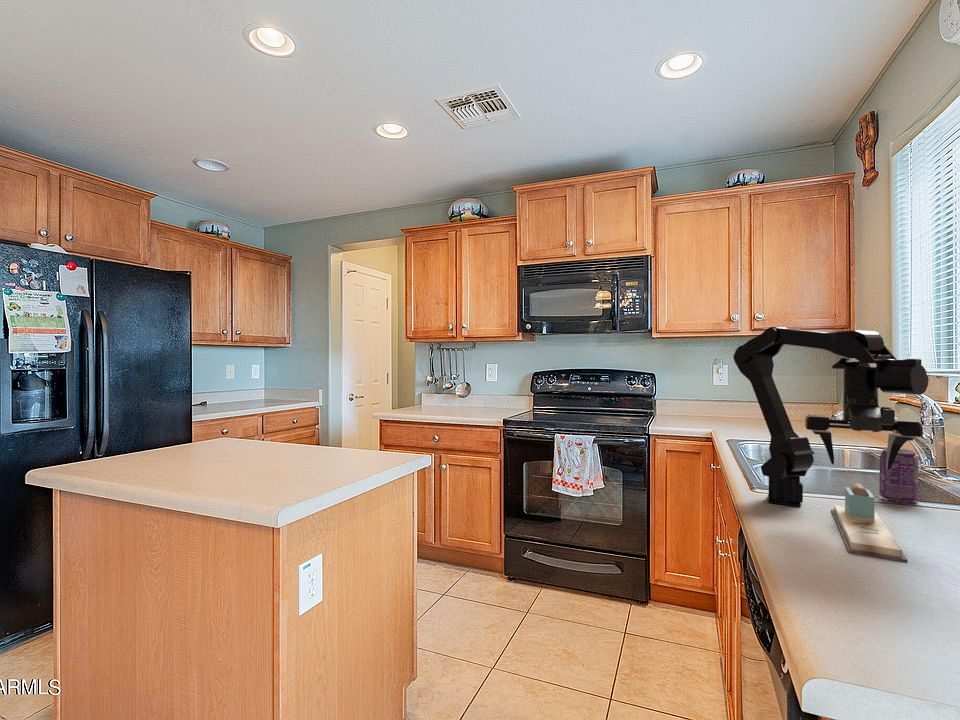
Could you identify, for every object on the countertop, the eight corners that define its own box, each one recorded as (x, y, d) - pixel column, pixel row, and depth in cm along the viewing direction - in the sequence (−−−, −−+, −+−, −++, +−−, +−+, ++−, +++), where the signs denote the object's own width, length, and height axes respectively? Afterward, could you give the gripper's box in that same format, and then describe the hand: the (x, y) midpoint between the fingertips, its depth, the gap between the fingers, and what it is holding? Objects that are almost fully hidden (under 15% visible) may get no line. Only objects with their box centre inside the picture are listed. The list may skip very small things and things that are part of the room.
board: (848, 552, 87) (848, 543, 87) (831, 510, 110) (831, 503, 110) (907, 562, 83) (907, 552, 83) (876, 516, 106) (876, 509, 106)
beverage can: (902, 496, 122) (903, 448, 122) (925, 505, 115) (926, 453, 115) (872, 495, 123) (872, 447, 122) (893, 504, 116) (893, 453, 115)
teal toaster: (849, 519, 100) (849, 488, 100) (844, 510, 106) (845, 481, 106) (874, 522, 98) (874, 491, 98) (868, 513, 104) (868, 483, 104)
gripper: (809, 392, 99) (808, 469, 99) (931, 396, 90) (930, 481, 90) (805, 388, 109) (804, 459, 109) (915, 392, 99) (914, 469, 100)
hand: (859, 466), depth 102 cm, fingers open, 9 cm apart
